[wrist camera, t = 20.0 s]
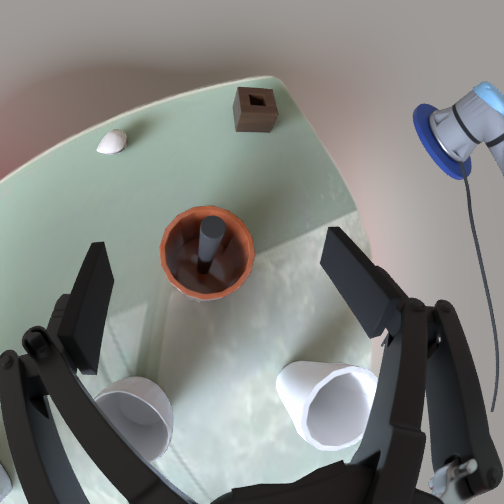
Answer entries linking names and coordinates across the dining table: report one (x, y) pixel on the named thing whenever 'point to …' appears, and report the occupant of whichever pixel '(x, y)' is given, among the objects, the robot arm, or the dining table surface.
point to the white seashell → (113, 142)
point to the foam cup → (328, 401)
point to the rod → (209, 241)
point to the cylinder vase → (4, 483)
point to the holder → (254, 110)
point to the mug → (139, 414)
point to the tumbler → (225, 261)
